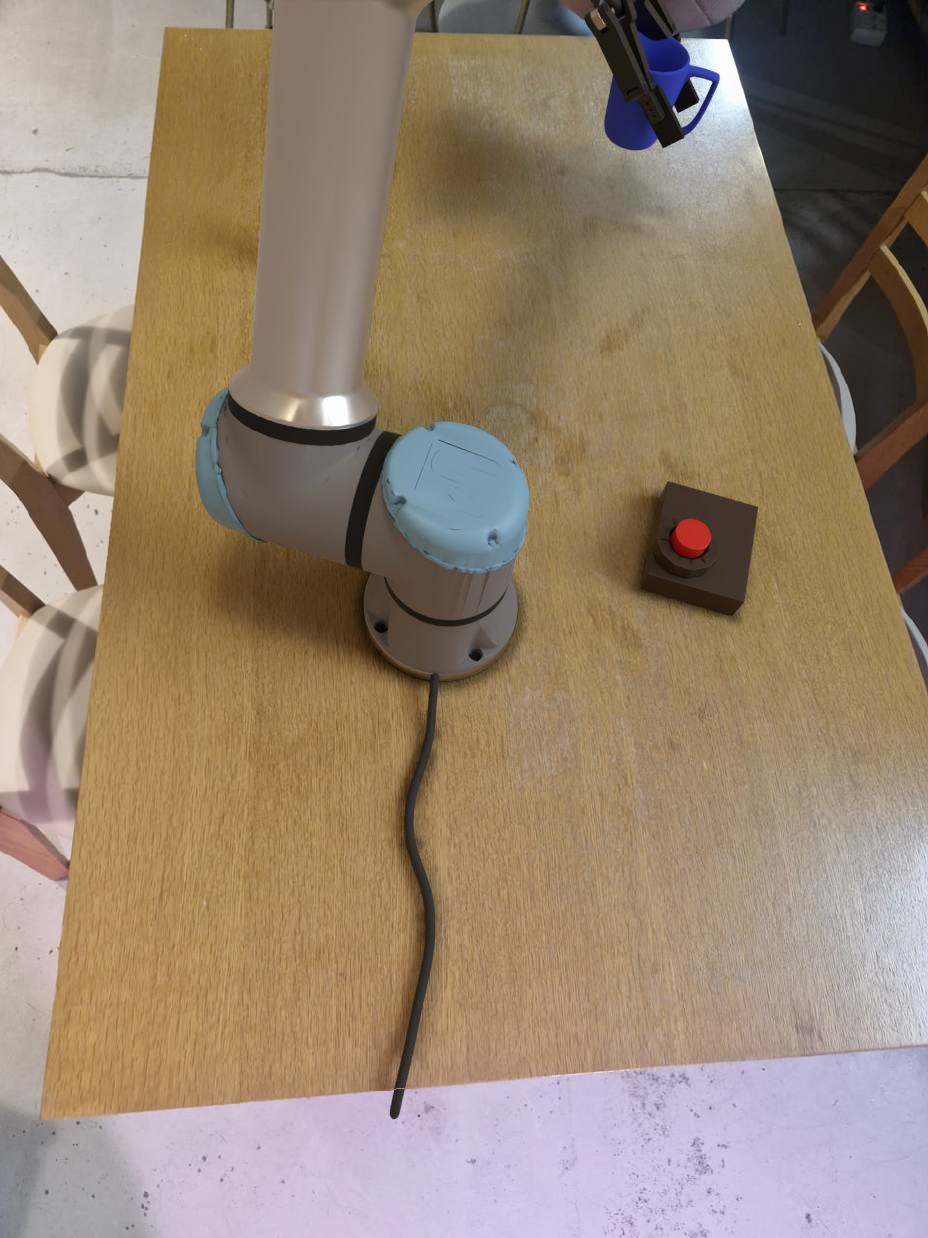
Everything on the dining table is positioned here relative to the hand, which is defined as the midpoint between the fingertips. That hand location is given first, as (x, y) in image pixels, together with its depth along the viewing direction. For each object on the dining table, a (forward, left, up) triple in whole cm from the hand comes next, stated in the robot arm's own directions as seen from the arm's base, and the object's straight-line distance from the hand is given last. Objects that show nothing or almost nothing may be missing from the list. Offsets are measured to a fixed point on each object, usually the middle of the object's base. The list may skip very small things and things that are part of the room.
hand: (681, 123), depth 100 cm
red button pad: (-49, -14, -14) cm, 53 cm away
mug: (0, +4, -4) cm, 5 cm away
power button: (-51, -12, -9) cm, 53 cm away
